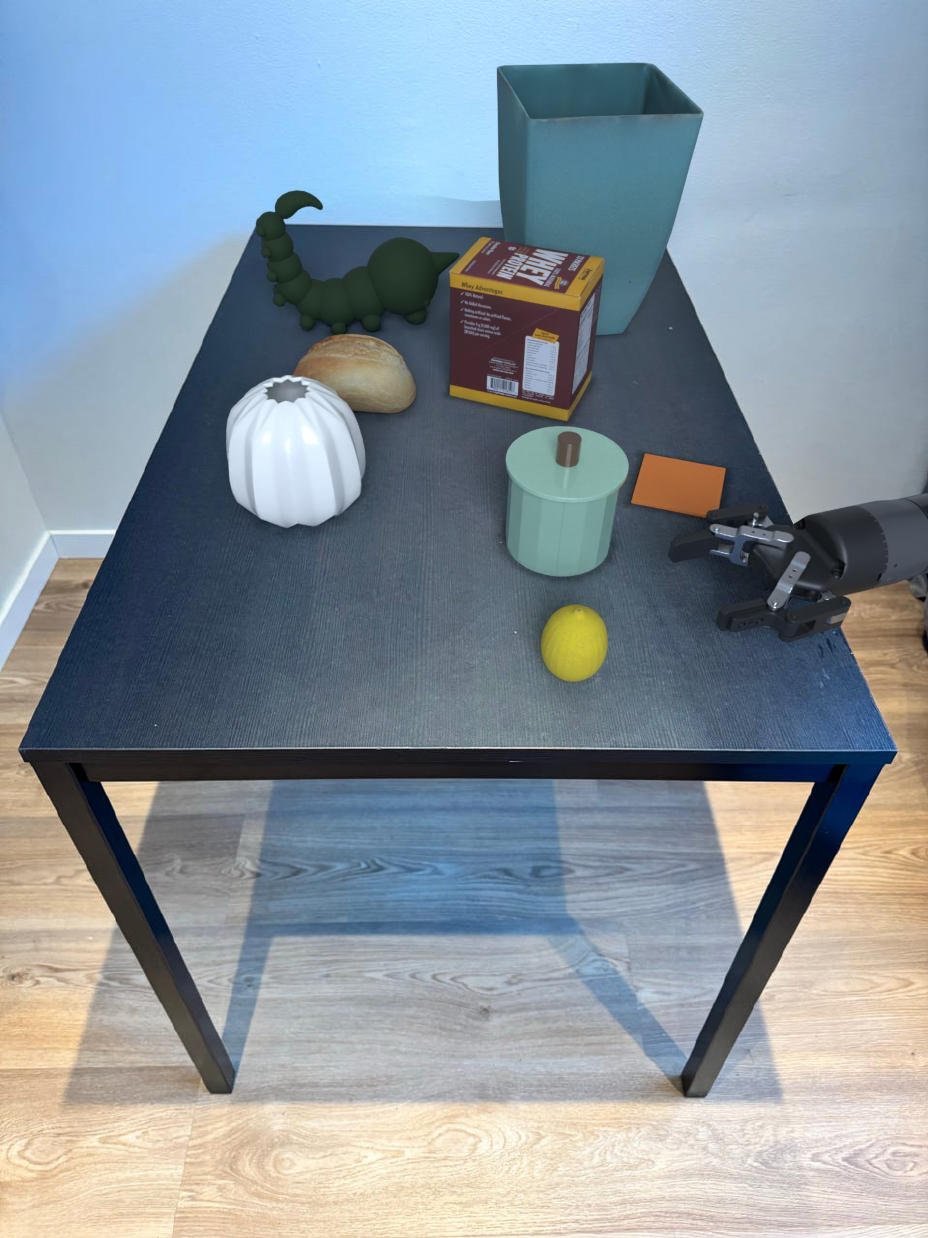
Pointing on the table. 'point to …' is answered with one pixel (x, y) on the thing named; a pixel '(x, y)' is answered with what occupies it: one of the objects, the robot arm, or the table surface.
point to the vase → (294, 452)
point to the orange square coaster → (678, 485)
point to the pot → (558, 532)
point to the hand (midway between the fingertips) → (694, 584)
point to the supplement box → (523, 326)
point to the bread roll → (361, 372)
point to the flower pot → (595, 168)
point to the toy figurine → (349, 275)
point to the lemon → (574, 643)
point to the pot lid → (567, 464)
